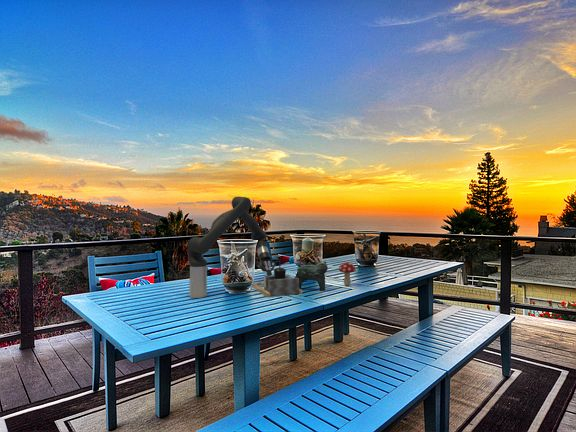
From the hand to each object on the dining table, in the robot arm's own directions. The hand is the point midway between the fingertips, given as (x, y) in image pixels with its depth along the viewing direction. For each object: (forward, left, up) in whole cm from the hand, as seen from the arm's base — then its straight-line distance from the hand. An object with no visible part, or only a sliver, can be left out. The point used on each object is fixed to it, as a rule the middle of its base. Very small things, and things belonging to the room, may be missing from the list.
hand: (270, 276), depth 219 cm
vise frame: (0, -10, -7) cm, 12 cm away
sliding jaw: (0, -13, -7) cm, 15 cm away
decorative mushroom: (+47, -17, -7) cm, 51 cm away
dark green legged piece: (+20, -19, -7) cm, 29 cm away
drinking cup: (0, -17, -7) cm, 18 cm away
